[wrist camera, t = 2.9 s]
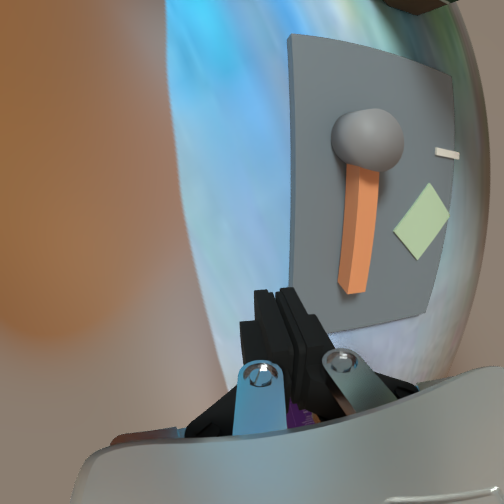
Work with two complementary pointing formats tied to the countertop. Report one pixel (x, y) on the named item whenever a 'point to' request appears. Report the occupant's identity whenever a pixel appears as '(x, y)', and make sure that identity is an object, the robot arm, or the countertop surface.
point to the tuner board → (390, 182)
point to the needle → (363, 185)
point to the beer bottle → (417, 5)
